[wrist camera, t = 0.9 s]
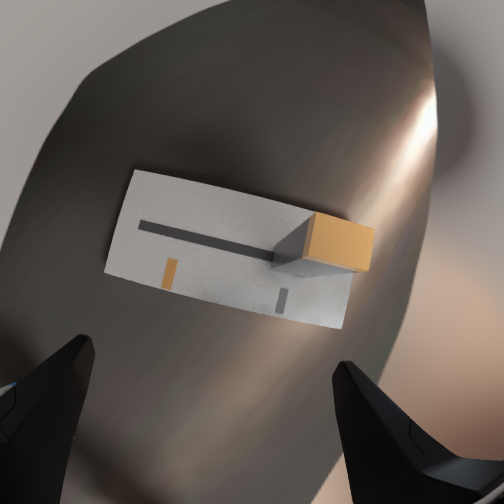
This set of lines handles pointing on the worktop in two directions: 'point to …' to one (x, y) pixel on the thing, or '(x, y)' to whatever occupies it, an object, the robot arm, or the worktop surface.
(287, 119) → the worktop surface
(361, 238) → the fader lever
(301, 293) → the fader console
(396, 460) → the robot arm
